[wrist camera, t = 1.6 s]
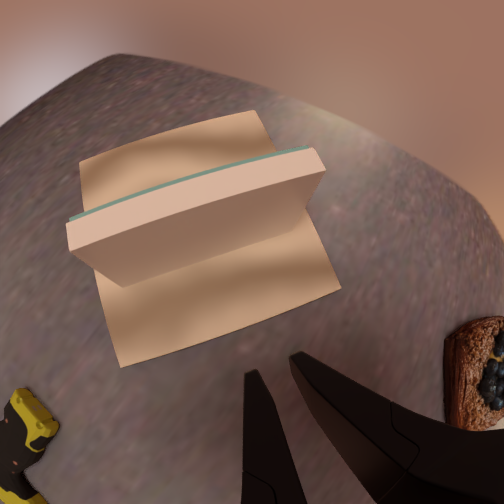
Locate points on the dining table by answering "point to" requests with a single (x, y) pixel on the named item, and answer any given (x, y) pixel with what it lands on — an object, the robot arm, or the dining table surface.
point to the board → (208, 271)
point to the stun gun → (22, 445)
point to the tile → (196, 216)
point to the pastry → (475, 374)
